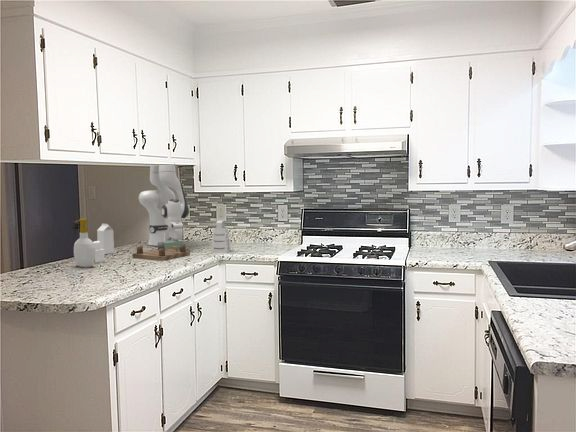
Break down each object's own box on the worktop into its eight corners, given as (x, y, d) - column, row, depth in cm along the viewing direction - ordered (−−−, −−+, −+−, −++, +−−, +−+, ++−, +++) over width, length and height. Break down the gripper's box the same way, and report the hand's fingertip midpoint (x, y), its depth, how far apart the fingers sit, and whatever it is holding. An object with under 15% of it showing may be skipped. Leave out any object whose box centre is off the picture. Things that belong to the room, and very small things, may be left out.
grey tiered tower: (230, 250, 317) (230, 220, 315) (227, 252, 307) (226, 221, 305) (215, 250, 318) (214, 220, 316) (211, 252, 308) (210, 221, 306)
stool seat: (161, 252, 310) (161, 242, 309) (189, 255, 298) (189, 244, 297) (132, 257, 289) (132, 247, 288) (162, 261, 277) (161, 249, 277)
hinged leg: (158, 249, 302) (158, 243, 302) (156, 248, 306) (156, 242, 306) (185, 247, 311) (185, 241, 311) (183, 246, 315) (182, 240, 315)
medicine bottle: (86, 262, 274) (85, 241, 273) (96, 260, 280) (95, 240, 279) (94, 263, 271) (94, 242, 270) (105, 261, 277) (104, 240, 276)
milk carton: (104, 254, 301) (103, 224, 300) (97, 253, 305) (96, 223, 304) (114, 253, 307) (113, 223, 305) (107, 252, 311) (106, 223, 310)
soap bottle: (68, 266, 261) (66, 218, 259) (83, 264, 268) (81, 217, 266) (85, 269, 253) (83, 219, 251) (99, 266, 261) (98, 218, 259)
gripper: (165, 223, 322) (166, 243, 323) (174, 225, 304) (175, 247, 306) (175, 222, 325) (175, 243, 326) (184, 225, 308) (184, 246, 309)
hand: (175, 245), depth 316 cm, fingers closed
